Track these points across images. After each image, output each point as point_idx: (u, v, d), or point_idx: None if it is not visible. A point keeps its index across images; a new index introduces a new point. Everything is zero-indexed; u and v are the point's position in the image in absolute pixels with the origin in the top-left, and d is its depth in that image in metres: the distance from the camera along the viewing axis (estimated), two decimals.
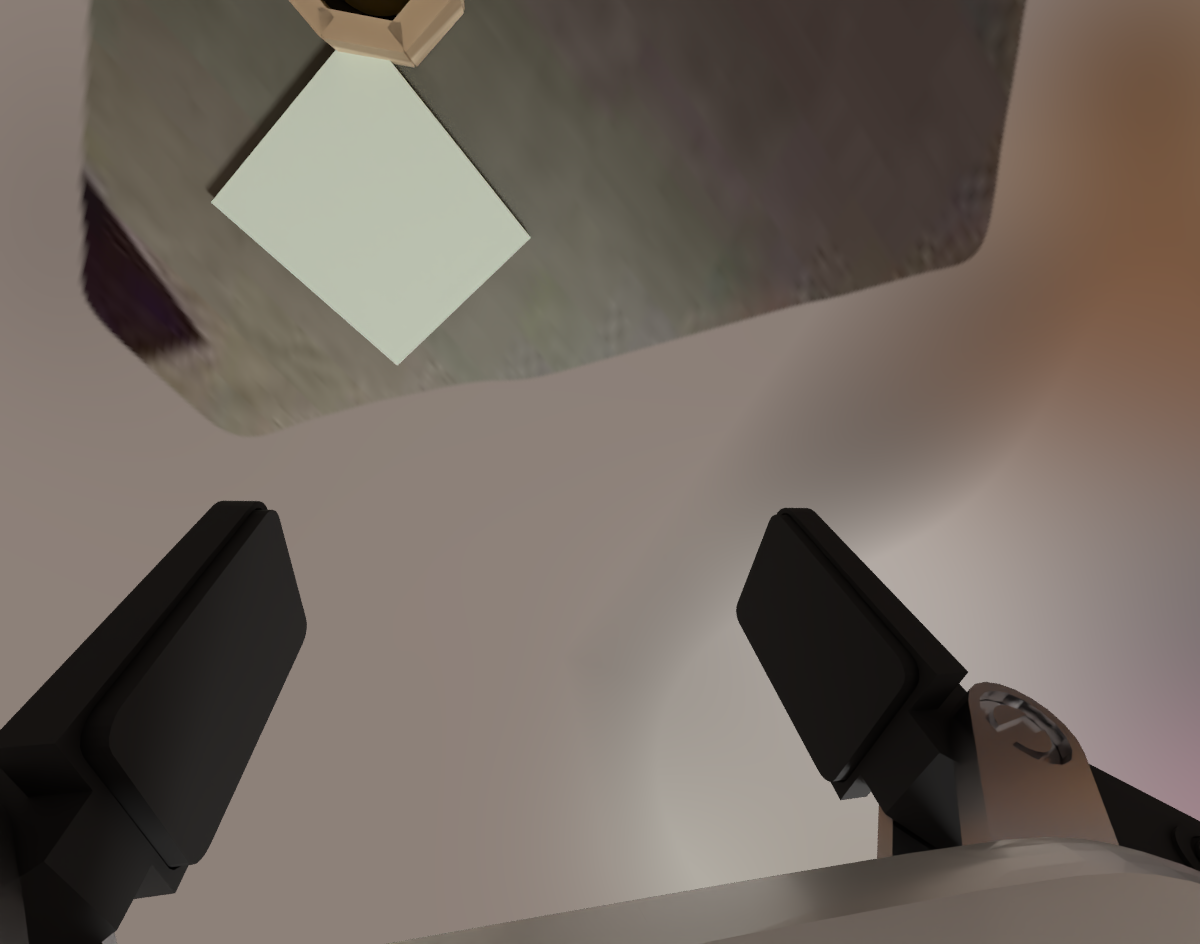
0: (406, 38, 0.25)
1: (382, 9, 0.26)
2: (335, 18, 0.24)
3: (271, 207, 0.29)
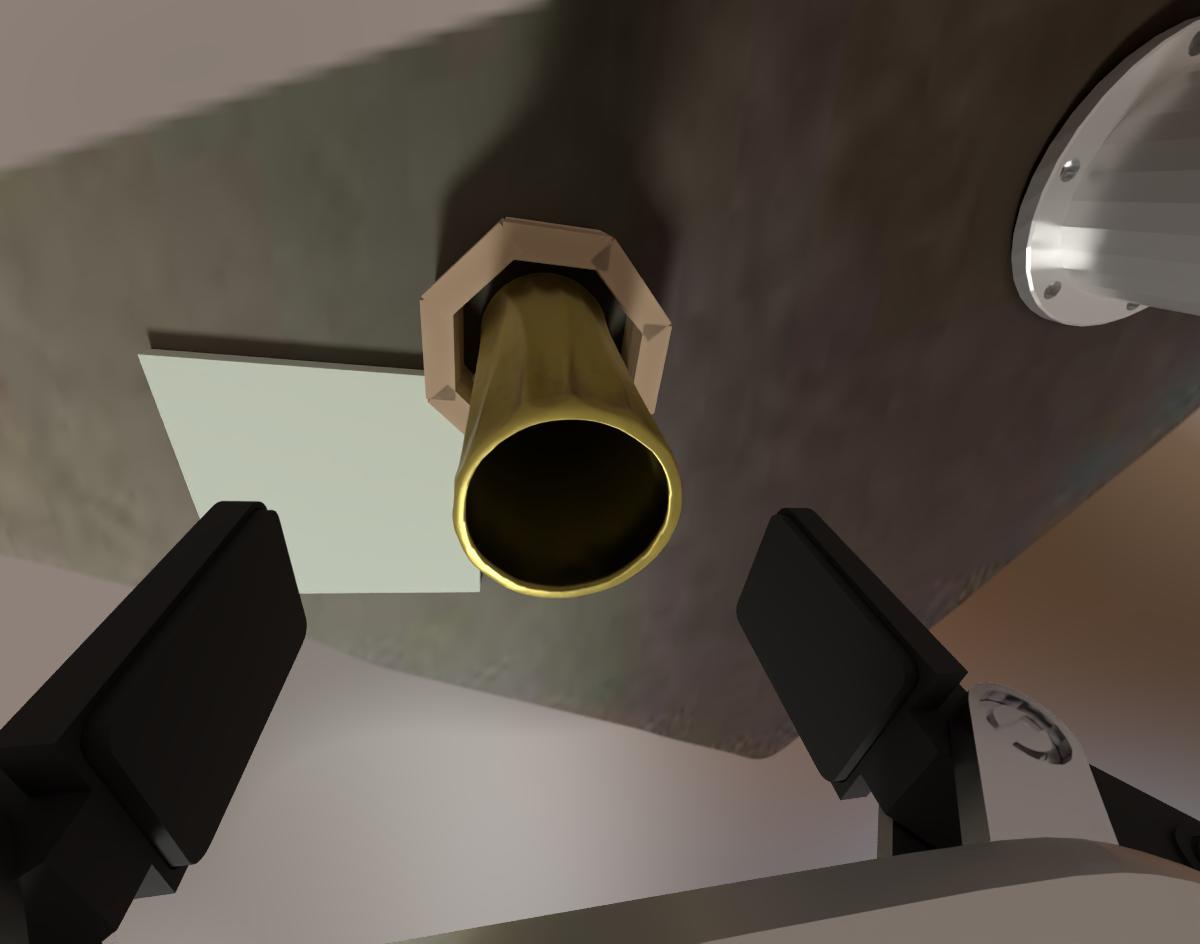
0: None
1: None
2: (456, 402, 0.20)
3: (219, 409, 0.21)
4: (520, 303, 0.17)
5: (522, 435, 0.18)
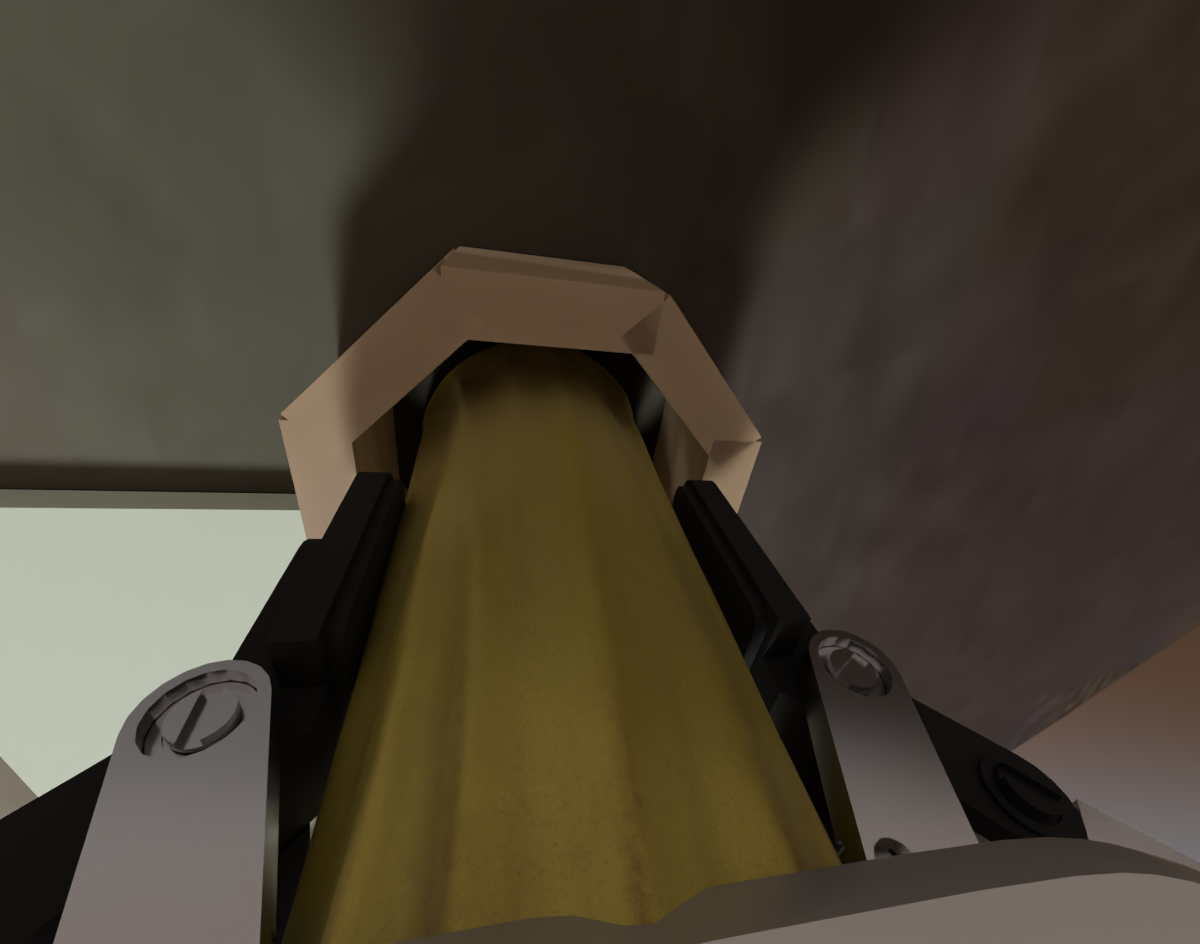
0: None
1: None
2: None
3: None
4: (480, 431, 0.08)
5: None
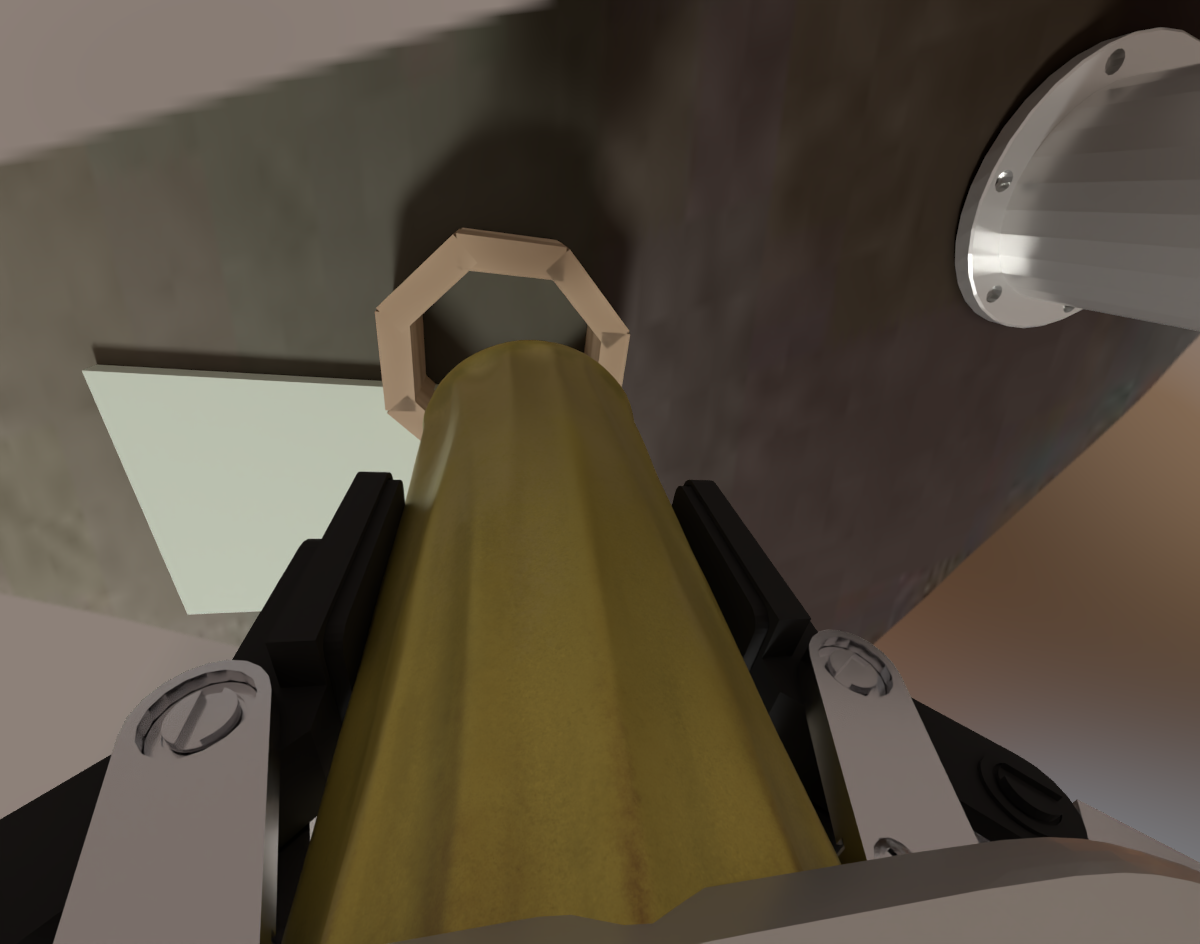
0: None
1: None
2: (416, 413, 0.20)
3: (171, 425, 0.20)
4: (480, 431, 0.08)
5: None
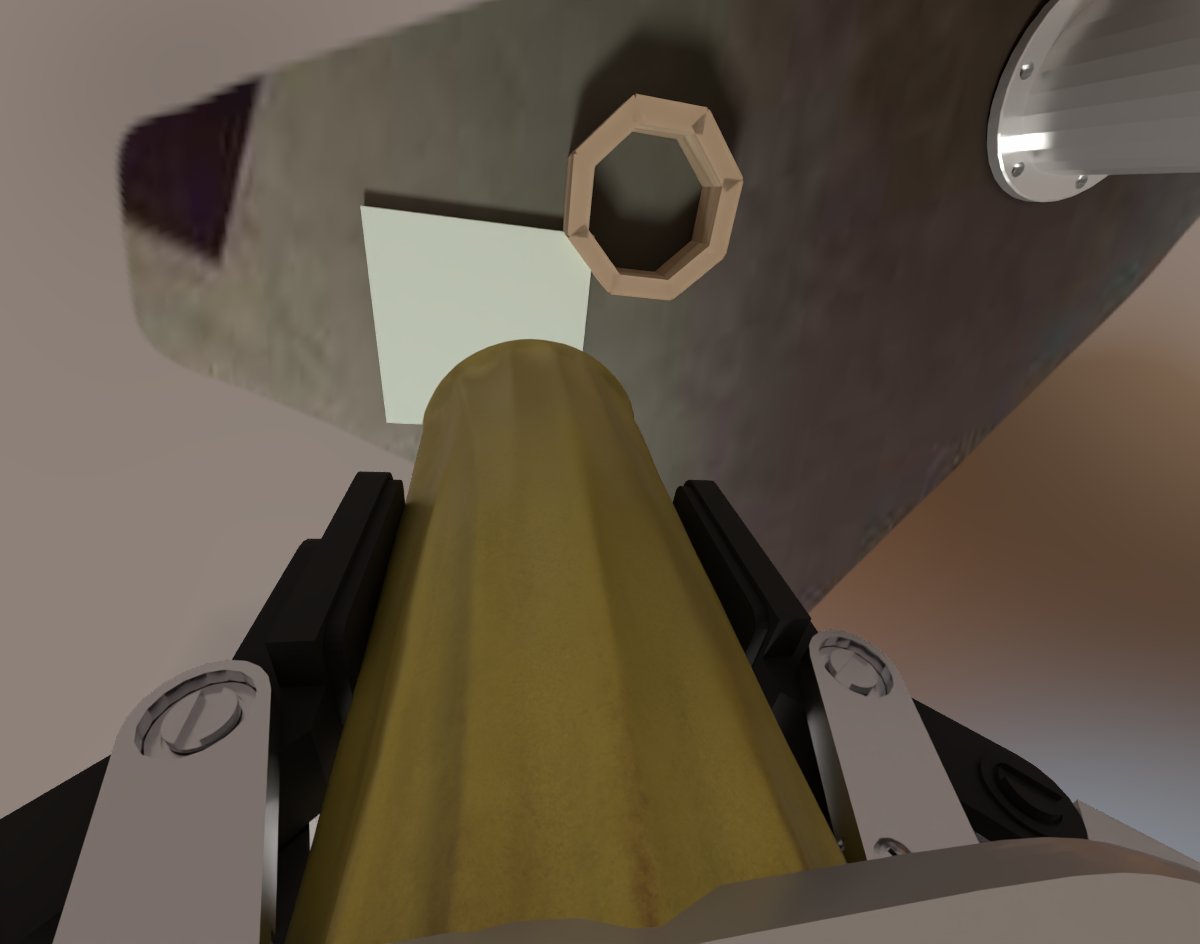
0: (618, 289, 0.29)
1: None
2: (588, 239, 0.27)
3: (408, 254, 0.29)
4: (481, 430, 0.08)
5: None
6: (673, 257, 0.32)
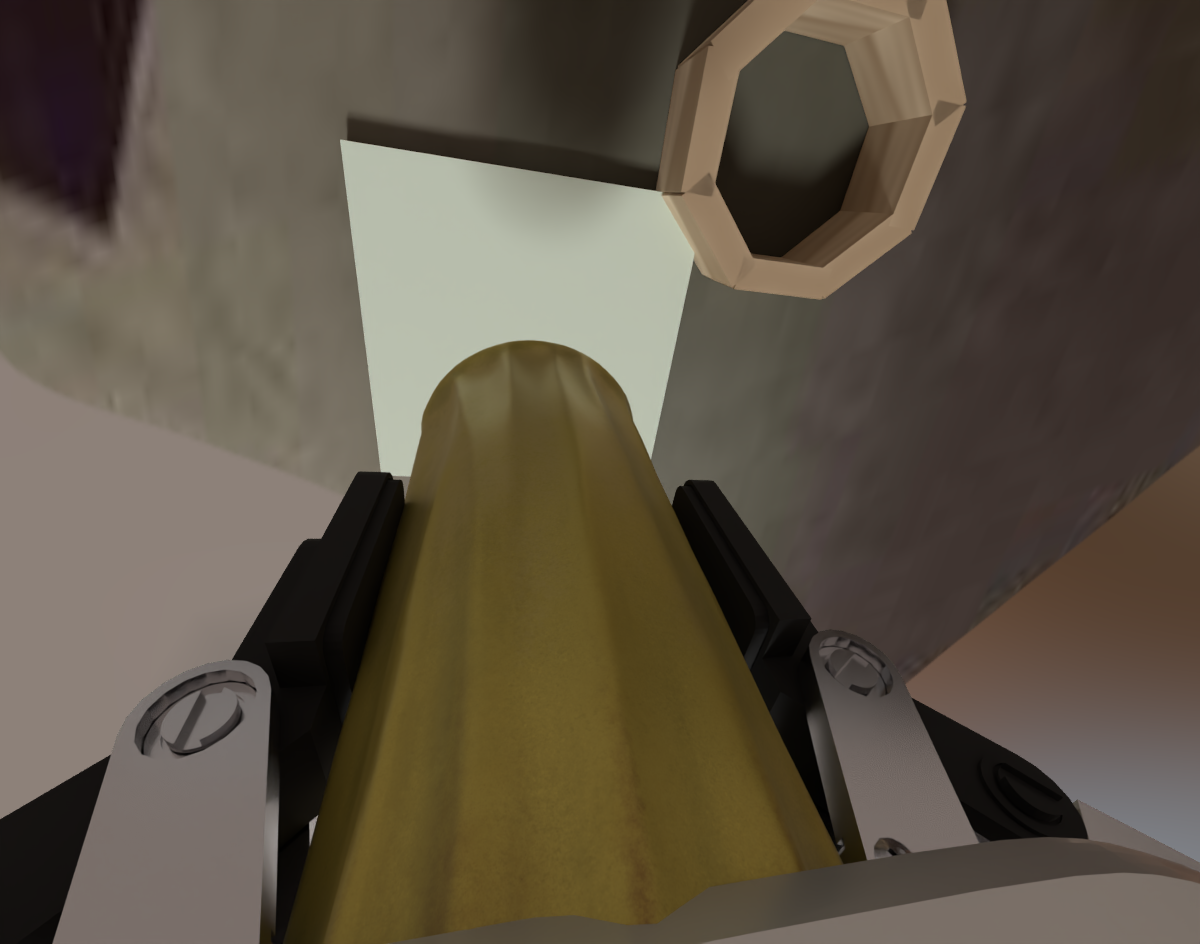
0: (747, 281, 0.19)
1: None
2: (712, 198, 0.17)
3: (417, 223, 0.18)
4: (479, 432, 0.08)
5: None
6: (813, 236, 0.21)
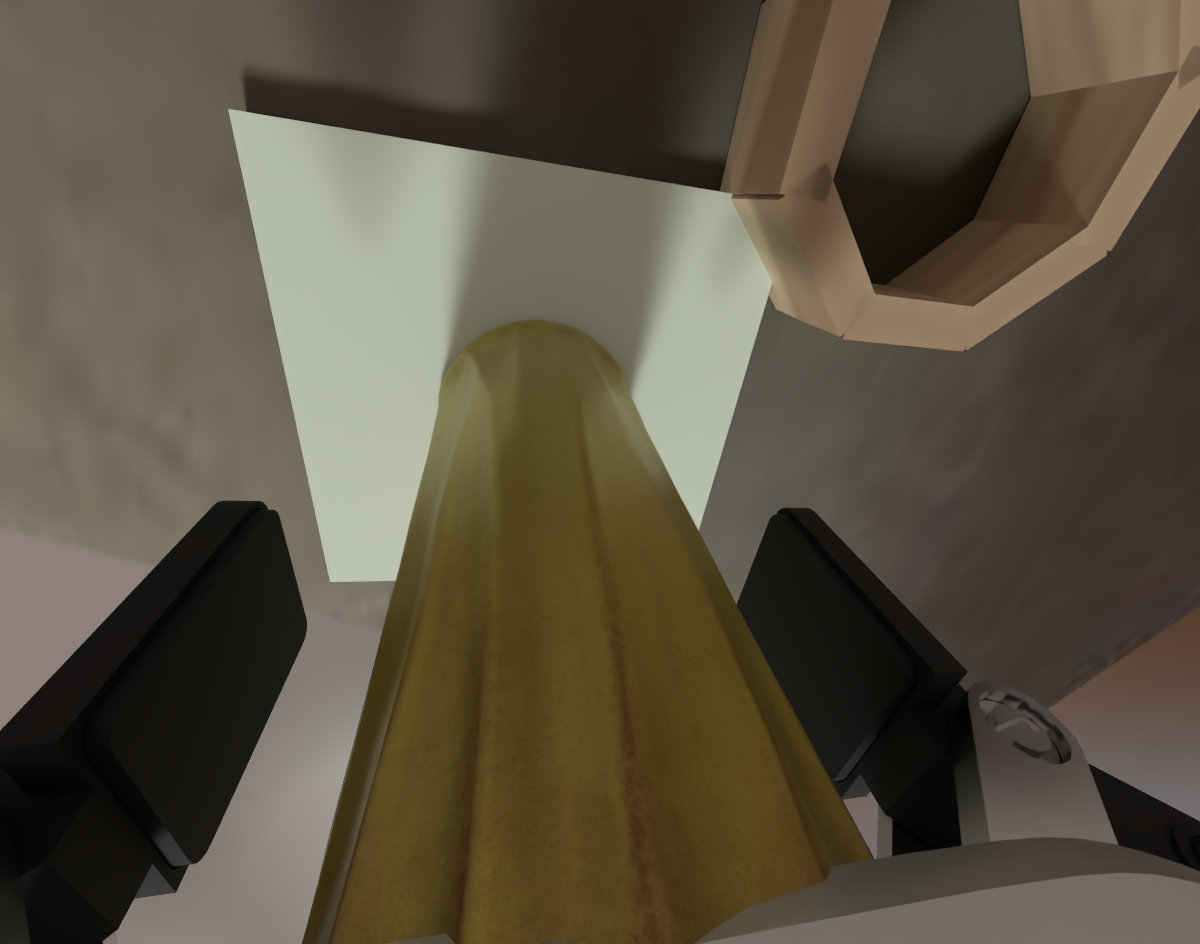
0: (862, 328, 0.12)
1: None
2: (825, 204, 0.11)
3: (363, 241, 0.12)
4: (493, 390, 0.10)
5: None
6: (936, 256, 0.15)
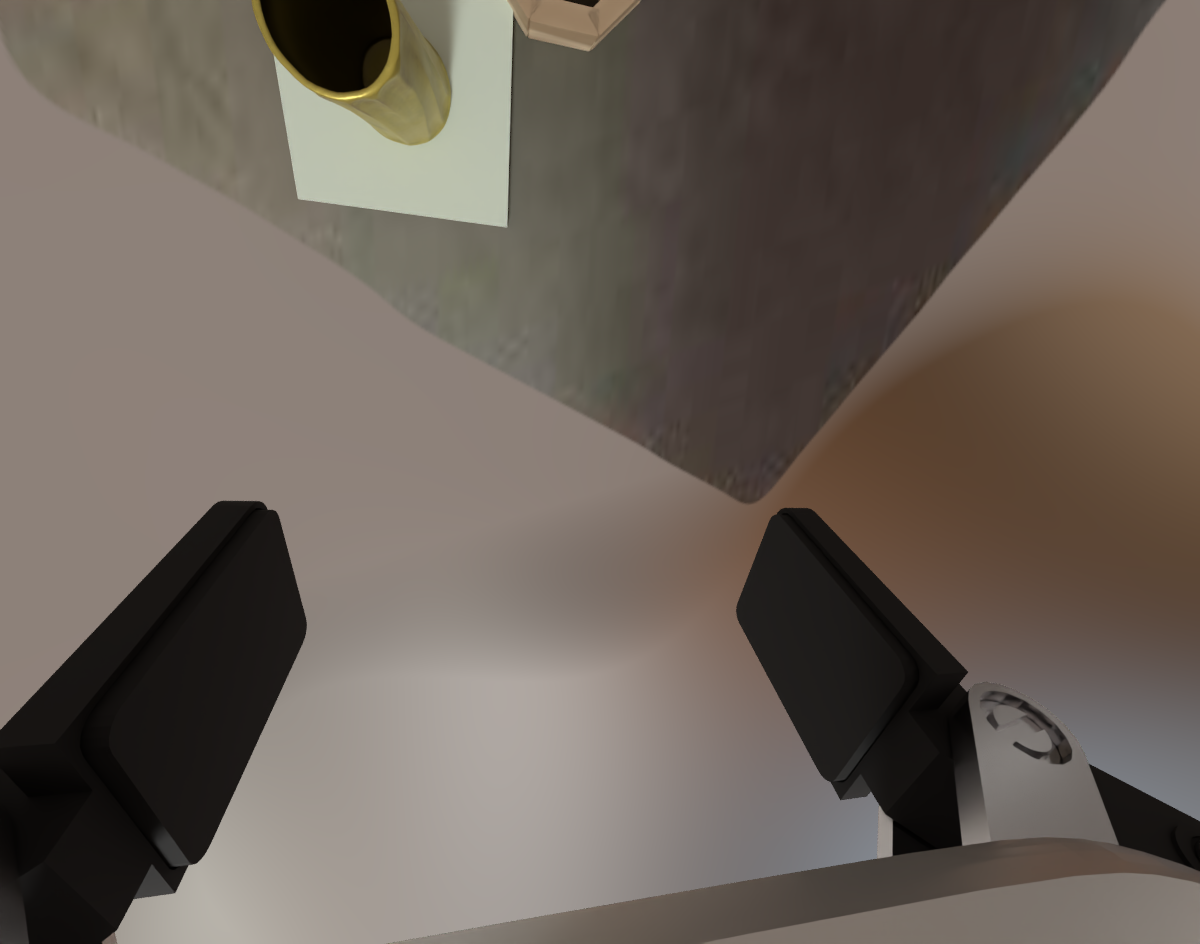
0: (538, 15, 0.27)
1: None
2: None
3: None
4: None
5: None
6: None
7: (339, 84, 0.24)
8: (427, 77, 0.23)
